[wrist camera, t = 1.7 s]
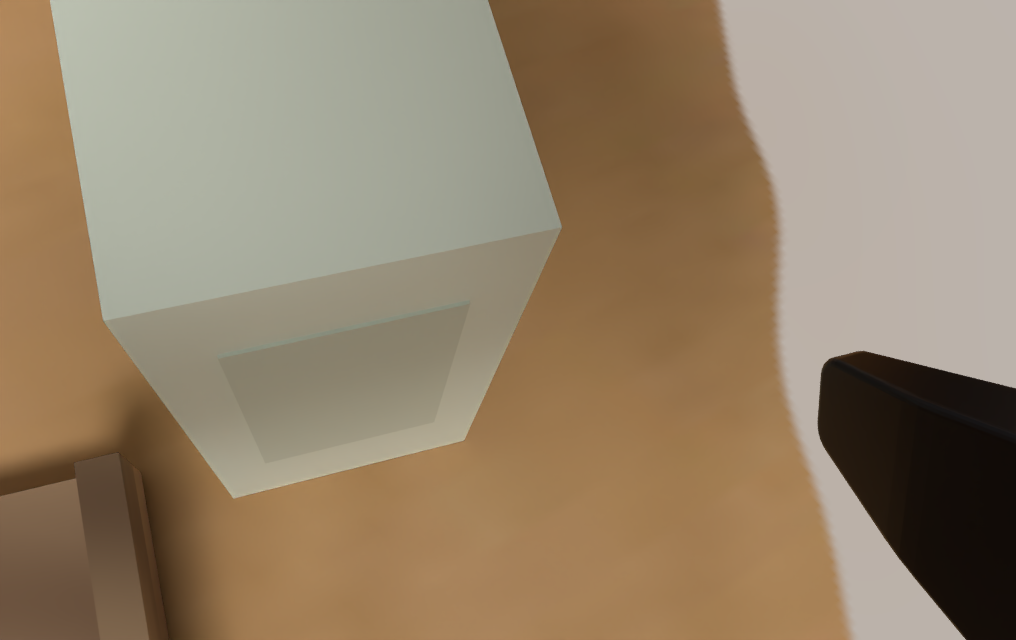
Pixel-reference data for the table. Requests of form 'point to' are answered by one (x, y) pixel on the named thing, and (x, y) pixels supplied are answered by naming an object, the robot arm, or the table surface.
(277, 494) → the table surface
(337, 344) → the pale green recessed block
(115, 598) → the wooden tray
